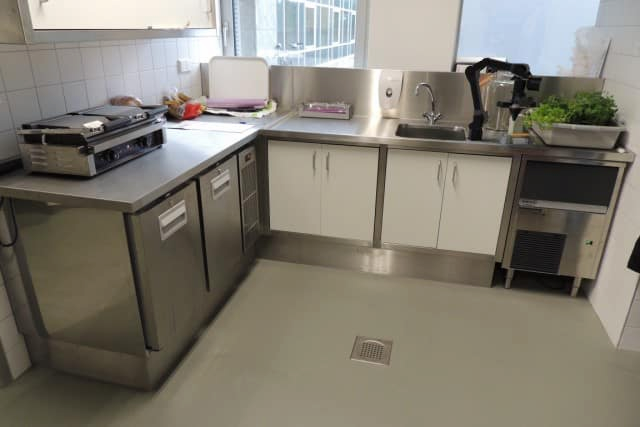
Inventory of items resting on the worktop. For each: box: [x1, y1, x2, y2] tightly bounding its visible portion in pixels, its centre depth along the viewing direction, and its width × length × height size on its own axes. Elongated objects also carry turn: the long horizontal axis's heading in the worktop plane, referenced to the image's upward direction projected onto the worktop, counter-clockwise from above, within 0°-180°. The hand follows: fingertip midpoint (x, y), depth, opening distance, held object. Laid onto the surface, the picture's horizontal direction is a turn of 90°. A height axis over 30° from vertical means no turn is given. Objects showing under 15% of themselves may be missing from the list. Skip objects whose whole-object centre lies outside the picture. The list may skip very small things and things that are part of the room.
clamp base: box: [497, 131, 538, 148], centre depth 244 cm, size 16×11×6 cm
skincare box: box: [507, 113, 526, 134], centre depth 259 cm, size 6×4×12 cm
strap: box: [503, 133, 531, 138], centre depth 243 cm, size 14×3×1 cm, turn 98°
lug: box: [527, 134, 535, 144], centre depth 241 cm, size 2×3×5 cm
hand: (513, 121), depth 238 cm, fingers closed
